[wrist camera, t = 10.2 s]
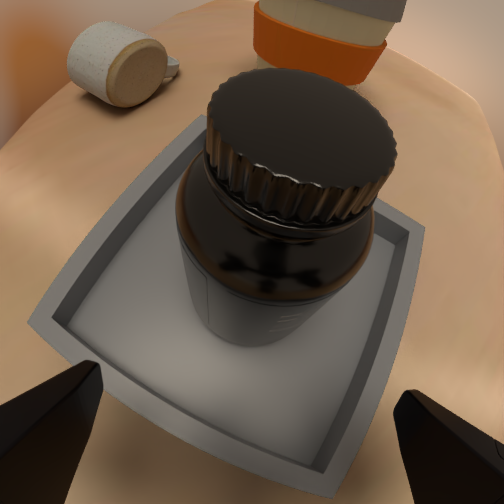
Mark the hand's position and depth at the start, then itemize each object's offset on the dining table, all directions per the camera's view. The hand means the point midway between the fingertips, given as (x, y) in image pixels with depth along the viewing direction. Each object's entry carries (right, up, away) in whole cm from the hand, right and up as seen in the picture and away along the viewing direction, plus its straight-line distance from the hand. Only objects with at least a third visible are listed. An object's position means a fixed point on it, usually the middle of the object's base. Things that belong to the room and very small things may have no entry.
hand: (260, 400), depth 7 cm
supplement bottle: (0, +2, +10) cm, 10 cm away
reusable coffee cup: (+5, +20, +21) cm, 29 cm away
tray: (-1, +2, +10) cm, 11 cm away
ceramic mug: (-13, +21, +18) cm, 31 cm away
